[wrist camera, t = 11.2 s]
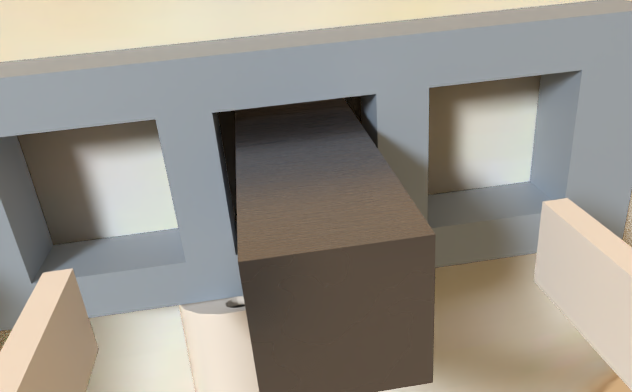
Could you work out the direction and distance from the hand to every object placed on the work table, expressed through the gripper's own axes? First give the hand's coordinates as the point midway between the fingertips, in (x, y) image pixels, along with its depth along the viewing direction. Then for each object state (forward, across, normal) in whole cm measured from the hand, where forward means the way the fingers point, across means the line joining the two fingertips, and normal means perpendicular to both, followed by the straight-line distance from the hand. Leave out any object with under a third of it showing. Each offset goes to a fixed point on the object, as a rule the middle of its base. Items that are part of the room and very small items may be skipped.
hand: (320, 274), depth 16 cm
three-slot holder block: (+10, 0, 0) cm, 10 cm away
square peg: (+10, 0, 0) cm, 10 cm away
